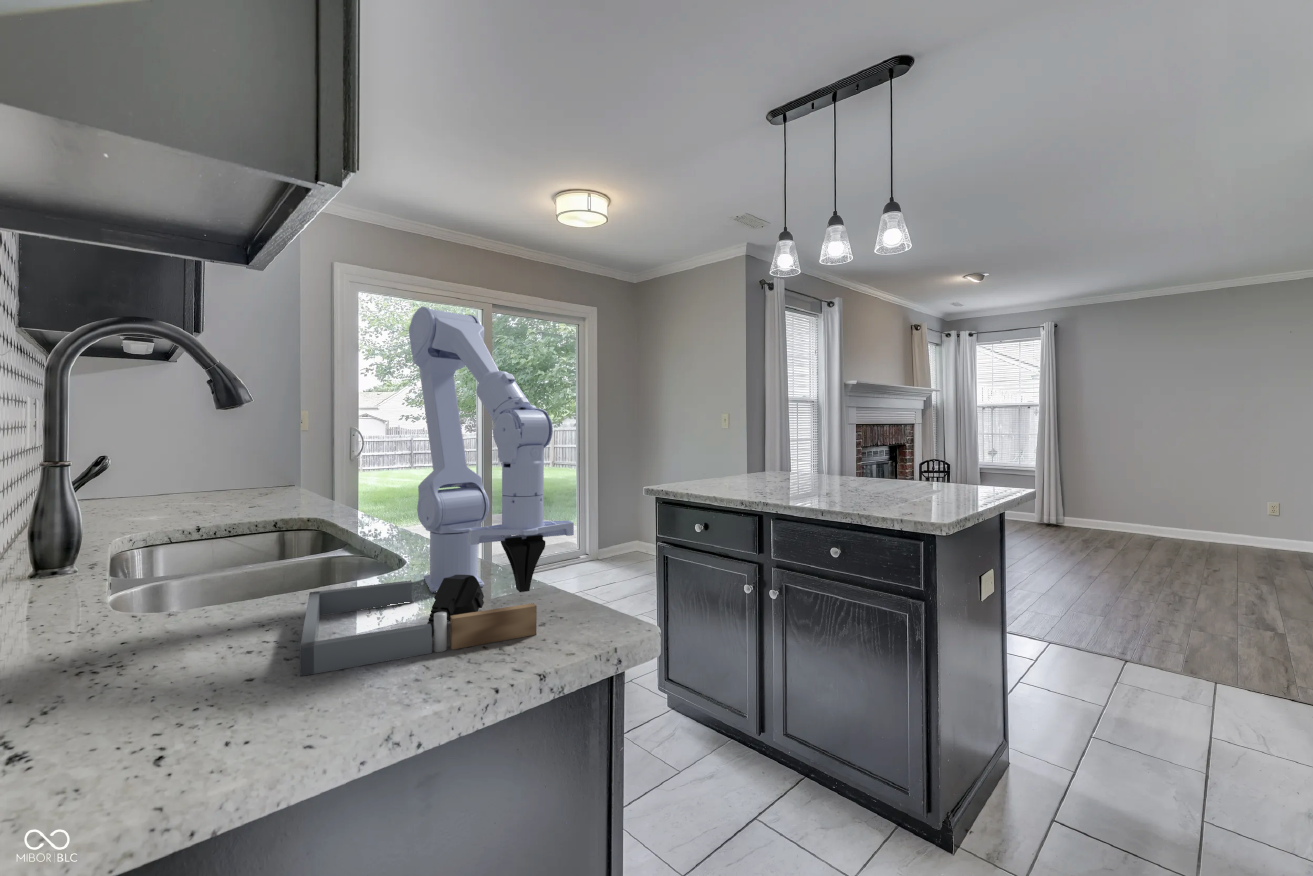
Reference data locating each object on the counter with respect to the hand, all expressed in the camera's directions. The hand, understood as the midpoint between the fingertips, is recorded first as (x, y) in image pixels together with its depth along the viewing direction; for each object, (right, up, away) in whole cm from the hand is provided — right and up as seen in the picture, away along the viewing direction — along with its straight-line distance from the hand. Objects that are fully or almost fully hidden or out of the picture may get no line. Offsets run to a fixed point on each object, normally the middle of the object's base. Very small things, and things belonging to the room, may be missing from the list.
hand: (522, 590), depth 80 cm
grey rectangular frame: (-17, -3, -9) cm, 19 cm away
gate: (-1, -3, -12) cm, 12 cm away
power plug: (-7, -3, -9) cm, 12 cm away
